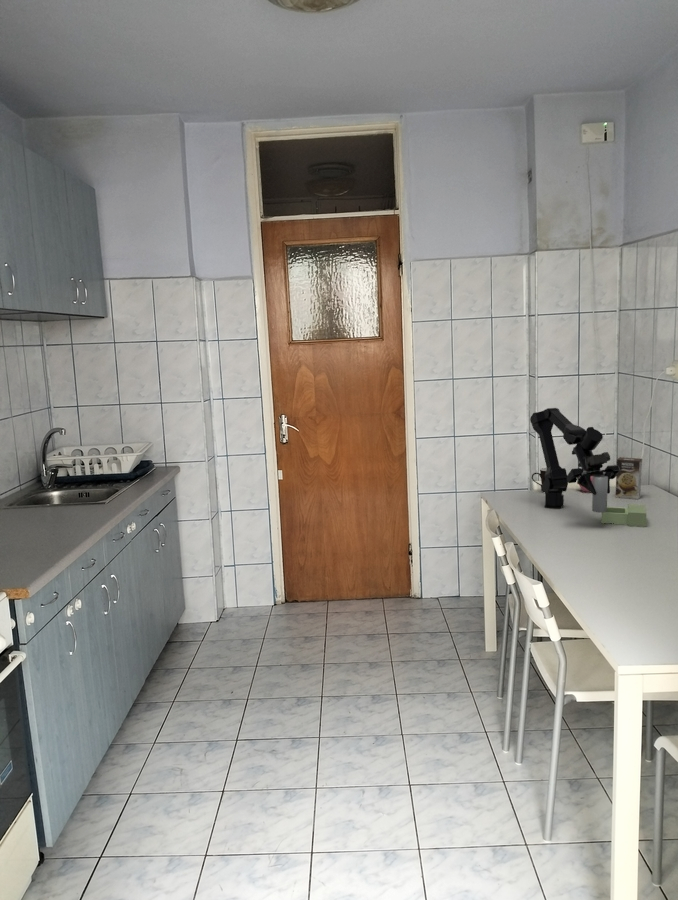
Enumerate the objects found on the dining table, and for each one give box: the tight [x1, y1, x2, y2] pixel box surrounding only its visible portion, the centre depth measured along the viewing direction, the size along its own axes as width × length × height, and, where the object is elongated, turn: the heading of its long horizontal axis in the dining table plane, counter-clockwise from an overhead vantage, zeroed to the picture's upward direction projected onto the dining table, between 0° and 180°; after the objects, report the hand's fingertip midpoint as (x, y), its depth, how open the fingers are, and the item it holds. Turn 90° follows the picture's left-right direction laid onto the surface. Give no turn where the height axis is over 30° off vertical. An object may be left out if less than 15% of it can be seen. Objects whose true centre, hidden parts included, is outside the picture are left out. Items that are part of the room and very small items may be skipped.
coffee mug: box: [531, 467, 547, 487], centre depth 318 cm, size 12×9×10 cm
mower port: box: [600, 504, 647, 528], centre depth 269 cm, size 15×12×5 cm
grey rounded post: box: [591, 475, 608, 514], centre depth 262 cm, size 5×5×12 cm
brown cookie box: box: [615, 456, 643, 500], centre depth 303 cm, size 9×6×16 cm
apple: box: [576, 476, 593, 493], centre depth 316 cm, size 10×9×10 cm
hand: (602, 493), depth 260 cm, fingers closed on grey rounded post, 5 cm apart
